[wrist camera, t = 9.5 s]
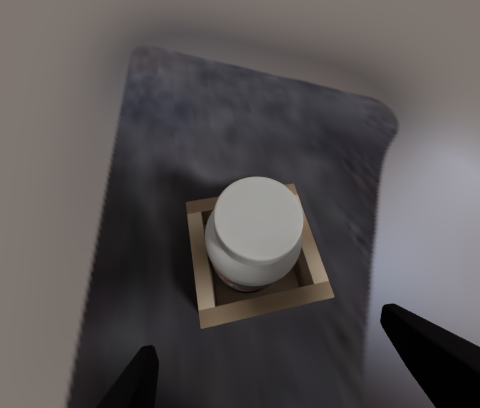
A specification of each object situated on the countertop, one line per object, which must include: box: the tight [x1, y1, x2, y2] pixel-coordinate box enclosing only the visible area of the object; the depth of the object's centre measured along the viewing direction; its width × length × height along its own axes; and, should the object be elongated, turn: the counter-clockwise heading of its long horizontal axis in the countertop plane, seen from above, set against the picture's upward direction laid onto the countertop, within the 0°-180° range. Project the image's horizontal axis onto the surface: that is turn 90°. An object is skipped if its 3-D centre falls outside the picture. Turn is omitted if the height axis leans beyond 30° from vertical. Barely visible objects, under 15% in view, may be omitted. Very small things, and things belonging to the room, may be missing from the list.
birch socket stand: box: [186, 184, 334, 329], centre depth 17 cm, size 8×8×4 cm
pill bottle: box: [205, 177, 303, 294], centre depth 14 cm, size 5×5×10 cm
